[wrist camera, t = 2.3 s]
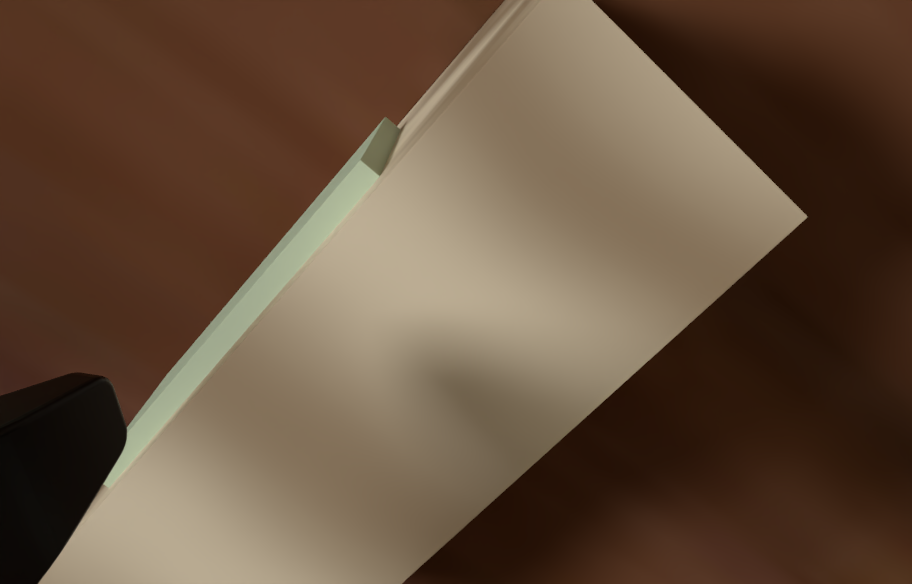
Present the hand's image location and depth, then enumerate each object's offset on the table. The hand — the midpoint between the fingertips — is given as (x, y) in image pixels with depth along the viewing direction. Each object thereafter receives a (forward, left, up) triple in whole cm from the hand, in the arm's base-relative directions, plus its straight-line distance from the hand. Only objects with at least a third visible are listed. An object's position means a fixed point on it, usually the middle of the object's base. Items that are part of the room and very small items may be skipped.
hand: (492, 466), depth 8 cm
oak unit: (-4, 0, -11) cm, 12 cm away
